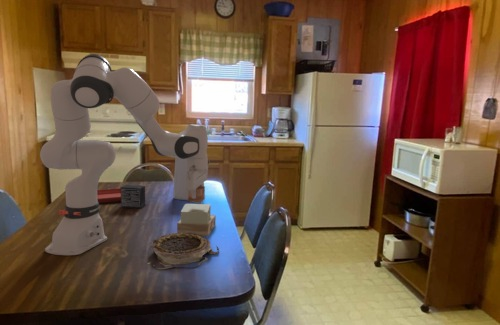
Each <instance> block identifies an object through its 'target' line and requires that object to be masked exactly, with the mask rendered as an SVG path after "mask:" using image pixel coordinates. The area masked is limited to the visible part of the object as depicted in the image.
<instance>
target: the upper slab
mask: <svg viewBox="0 0 500 325" xmlns="http://www.w3.org/2000/svg"><path fill="white" fill-rule="evenodd" d="M211 206H212V205H211V204H209V203H208V204H207V203H206V204H205V203H185V204H184V205H183V207H182V209H181V210H180V220H181V223H185V224H208V221H209V218H210V215H211V211H212V210H211Z"/></svg>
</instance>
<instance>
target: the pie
mask: <svg viewBox="0 0 500 325" xmlns="http://www.w3.org/2000/svg"><path fill="white" fill-rule="evenodd" d="M150 244H151V245H150V247H151V249H152V250H153V251H154V253H155V254H156V255H155V256H156V258H157V259H158V260H160V261H159V262H158V264H161V265H162V266H164V267H157V269H159V270H165V269H170V268H172V266H173V265H176V266H177V265H186V264H190V263H195V262H196V263H197V262H198V265H197V267H198V266H200V265H201V264H202V263H205V262H206V261H208V258H207V257H206V256H205V257H204V256H203V255H205V254H209V255H215V254H219V252H220V250H219V249H220V248H219V247H218V246H216V251H213V248H212V247H211V242H210V240H209V239H208V238H206V237H205V236H203V235H198V234H197V233H195V232H194V233H190V232H188V233H177V232H172V233H166V234H165V235H161V236H159V237H156V239H154V240H153V241H152V242H150ZM151 263H152V261H151V262H147V264H148V265H151ZM153 267H155V264H153ZM177 268H181V267H179V266H177ZM185 268H186V269H187V268H188V269H189V266H187V267H186V266H185ZM191 268H194V267H191Z"/></svg>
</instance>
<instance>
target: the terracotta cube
mask: <svg viewBox="0 0 500 325" xmlns="http://www.w3.org/2000/svg"><path fill="white" fill-rule="evenodd" d="M205 189H206V186H205V185H204V186H199V187H198V188H197V189H196V194H197V197H196V198H195V199H193V198H192V194H191V191H188V201H187V202H189V203H198V204H202V202H203V201H205V199H206V198H205V196H206V195H205V193H206V192H205V191H206V190H205Z"/></svg>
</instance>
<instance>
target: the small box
mask: <svg viewBox="0 0 500 325" xmlns="http://www.w3.org/2000/svg"><path fill="white" fill-rule="evenodd" d="M120 189H121V201H120V206H121V208H127V209H142V208H144V207H145V206H146V185H138V184H124V185H123V186H120Z"/></svg>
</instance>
